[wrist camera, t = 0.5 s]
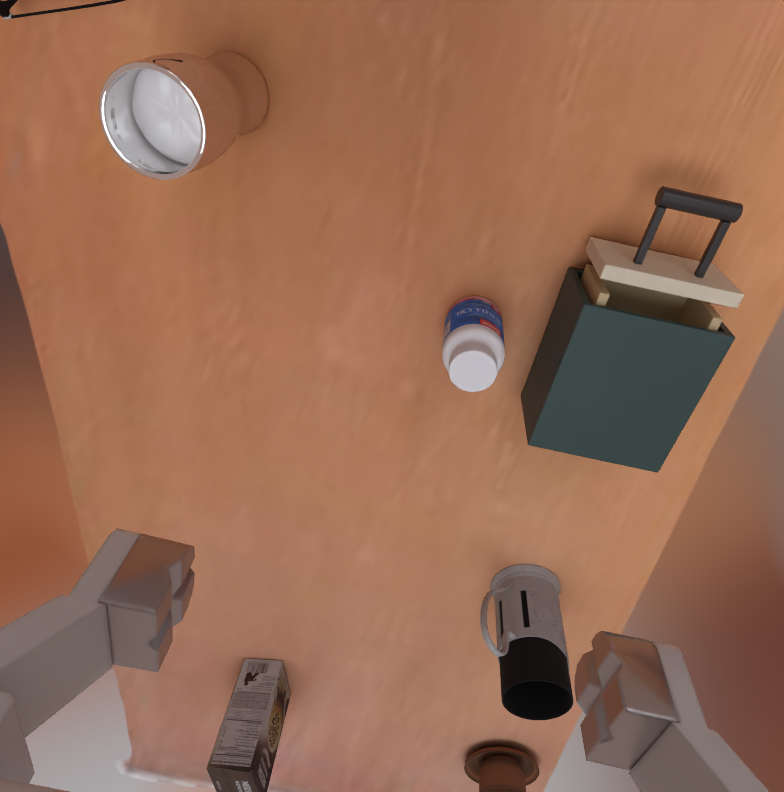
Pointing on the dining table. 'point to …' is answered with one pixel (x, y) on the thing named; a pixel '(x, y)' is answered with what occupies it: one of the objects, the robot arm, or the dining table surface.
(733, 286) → the drawer
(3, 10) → the eyeglasses
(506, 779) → the brown round flanged piece
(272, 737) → the coffee box
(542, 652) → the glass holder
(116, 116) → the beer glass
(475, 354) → the pill bottle
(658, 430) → the cabinet
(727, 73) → the dining table surface
